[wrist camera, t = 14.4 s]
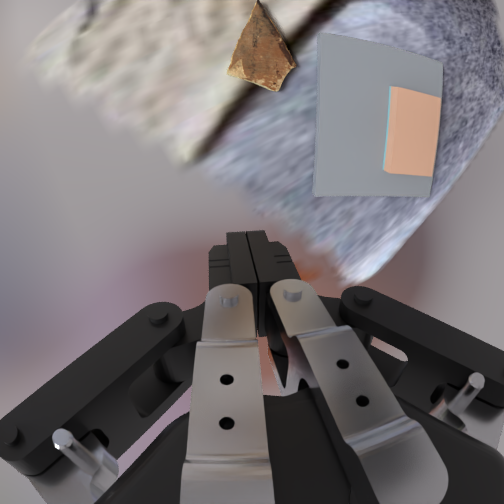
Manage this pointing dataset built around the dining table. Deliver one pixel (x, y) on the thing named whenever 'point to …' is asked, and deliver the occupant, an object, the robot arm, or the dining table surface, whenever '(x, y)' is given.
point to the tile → (411, 132)
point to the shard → (261, 53)
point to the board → (364, 115)
